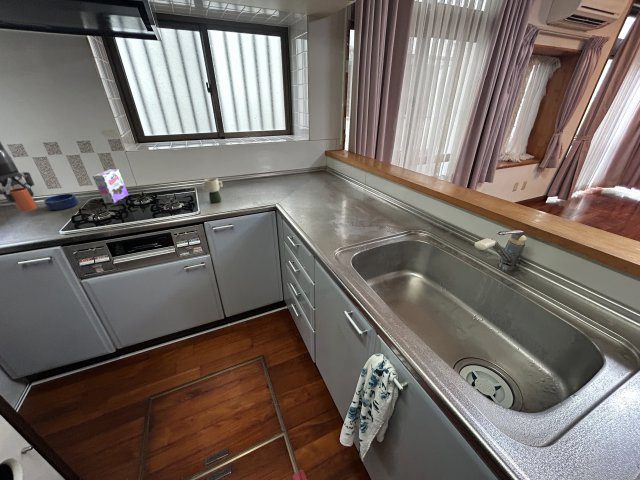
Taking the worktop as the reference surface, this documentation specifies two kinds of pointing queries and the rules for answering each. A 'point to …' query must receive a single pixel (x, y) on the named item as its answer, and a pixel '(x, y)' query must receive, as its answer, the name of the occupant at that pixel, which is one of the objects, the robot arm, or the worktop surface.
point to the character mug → (213, 188)
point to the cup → (23, 199)
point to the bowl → (60, 202)
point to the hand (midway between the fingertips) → (22, 199)
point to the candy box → (111, 185)
